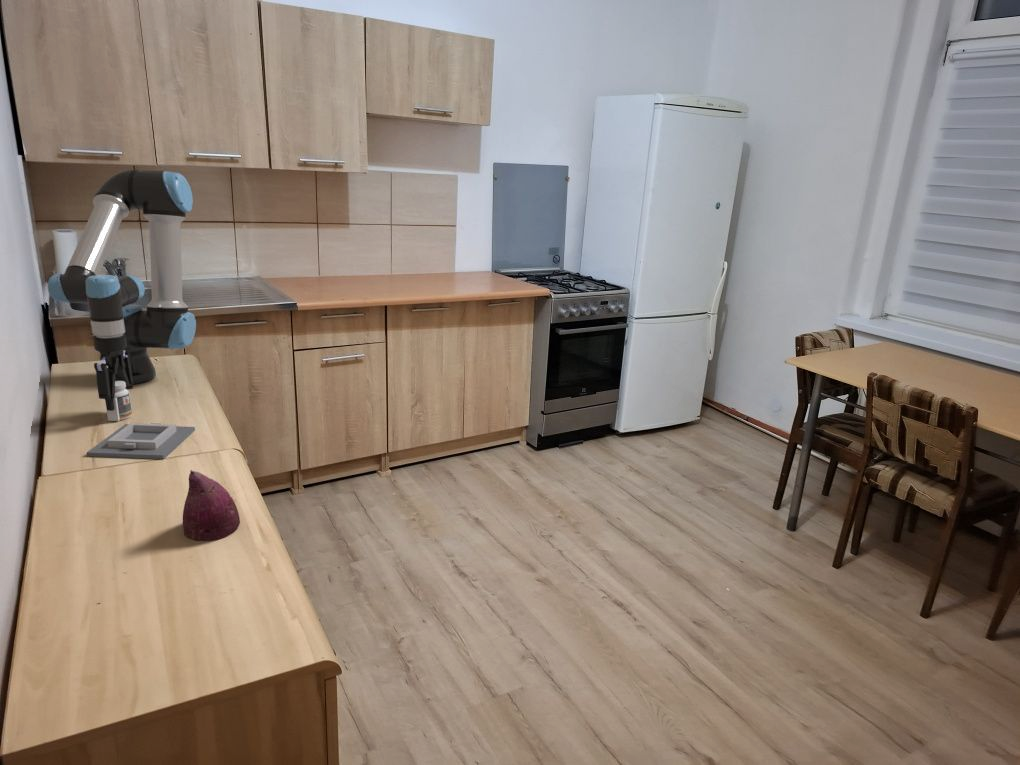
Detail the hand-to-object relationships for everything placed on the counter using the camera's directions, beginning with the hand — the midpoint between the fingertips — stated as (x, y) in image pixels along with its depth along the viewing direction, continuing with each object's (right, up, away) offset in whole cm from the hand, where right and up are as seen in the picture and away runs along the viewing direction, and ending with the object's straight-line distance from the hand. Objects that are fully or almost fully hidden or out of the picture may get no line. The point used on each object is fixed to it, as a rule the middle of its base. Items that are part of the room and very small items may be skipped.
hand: (120, 415), depth 182 cm
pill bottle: (0, -1, 0) cm, 1 cm away
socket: (+15, -6, -14) cm, 21 cm away
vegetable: (+48, -20, -50) cm, 72 cm away
